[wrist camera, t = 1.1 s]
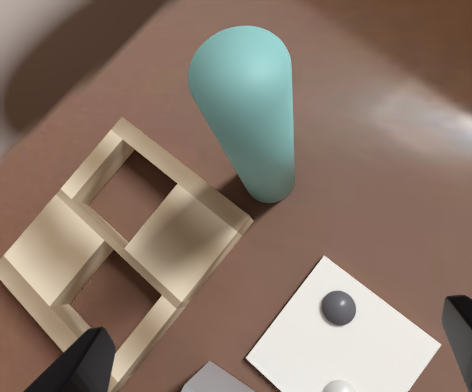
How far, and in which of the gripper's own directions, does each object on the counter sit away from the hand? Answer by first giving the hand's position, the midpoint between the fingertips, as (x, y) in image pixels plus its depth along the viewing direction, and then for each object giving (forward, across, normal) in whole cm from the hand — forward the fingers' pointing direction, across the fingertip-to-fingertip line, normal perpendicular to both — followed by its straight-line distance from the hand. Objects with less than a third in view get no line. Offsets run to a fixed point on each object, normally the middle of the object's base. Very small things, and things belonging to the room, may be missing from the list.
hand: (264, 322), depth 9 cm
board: (+13, +11, +6) cm, 18 cm away
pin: (+15, 0, +4) cm, 16 cm away
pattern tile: (+7, -3, +12) cm, 14 cm away
